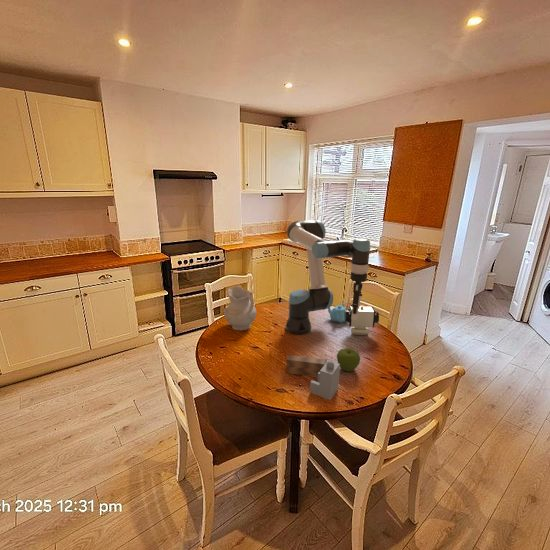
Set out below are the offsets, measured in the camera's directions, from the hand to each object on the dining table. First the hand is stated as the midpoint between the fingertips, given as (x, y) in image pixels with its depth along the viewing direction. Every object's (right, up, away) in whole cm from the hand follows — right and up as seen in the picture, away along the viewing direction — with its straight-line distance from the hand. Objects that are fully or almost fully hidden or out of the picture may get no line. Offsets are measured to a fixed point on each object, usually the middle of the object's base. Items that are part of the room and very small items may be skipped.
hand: (355, 313), depth 146 cm
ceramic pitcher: (-59, -13, +36) cm, 71 cm away
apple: (-5, -25, -6) cm, 27 cm away
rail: (-25, -26, -9) cm, 37 cm away
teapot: (+1, -10, +45) cm, 46 cm away
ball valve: (+9, -15, +27) cm, 33 cm away
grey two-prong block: (-19, -29, -21) cm, 40 cm away
